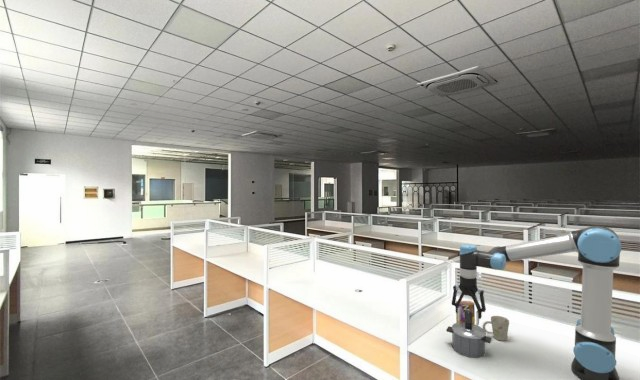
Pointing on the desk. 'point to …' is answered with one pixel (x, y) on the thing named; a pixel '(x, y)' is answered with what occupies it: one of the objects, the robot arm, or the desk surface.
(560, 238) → the robot arm
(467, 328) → the lid
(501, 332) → the mug
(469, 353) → the pot
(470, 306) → the candy box
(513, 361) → the desk surface
